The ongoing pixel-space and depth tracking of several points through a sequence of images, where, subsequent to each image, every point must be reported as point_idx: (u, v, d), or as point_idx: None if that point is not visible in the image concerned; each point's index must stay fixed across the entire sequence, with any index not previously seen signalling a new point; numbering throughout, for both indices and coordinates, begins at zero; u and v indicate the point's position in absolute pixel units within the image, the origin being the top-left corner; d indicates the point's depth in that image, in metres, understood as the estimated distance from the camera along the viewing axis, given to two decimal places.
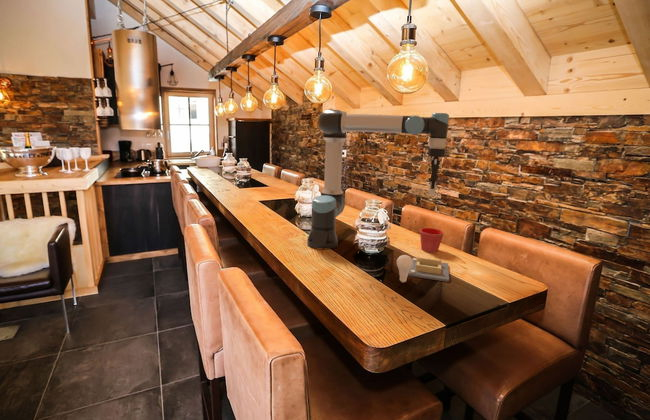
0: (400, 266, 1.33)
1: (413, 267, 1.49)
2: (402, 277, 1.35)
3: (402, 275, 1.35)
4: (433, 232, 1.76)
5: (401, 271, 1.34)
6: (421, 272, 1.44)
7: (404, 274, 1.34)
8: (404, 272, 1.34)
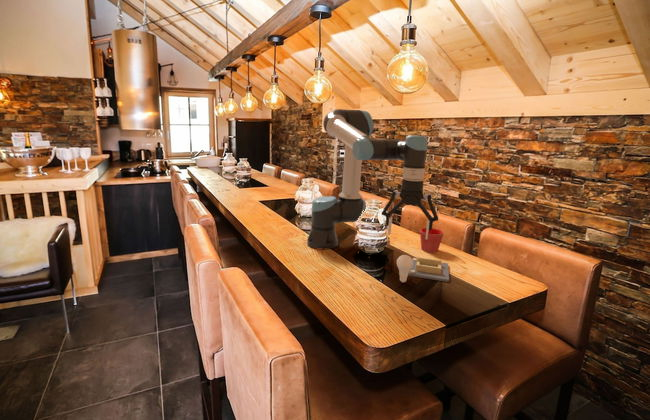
0: (400, 266, 1.33)
1: (413, 267, 1.49)
2: (402, 277, 1.35)
3: (402, 275, 1.35)
4: (433, 232, 1.76)
5: (401, 271, 1.34)
6: (421, 272, 1.44)
7: (404, 274, 1.34)
8: (404, 272, 1.34)
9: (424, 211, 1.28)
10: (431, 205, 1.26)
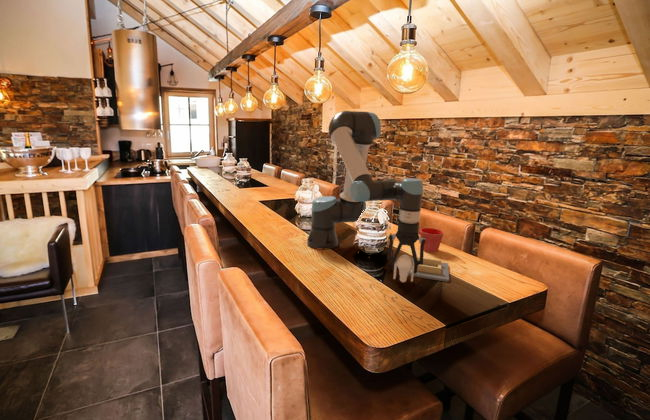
0: (400, 266, 1.33)
1: None
2: (402, 277, 1.35)
3: (402, 275, 1.35)
4: (433, 232, 1.76)
5: (401, 271, 1.34)
6: (421, 272, 1.44)
7: (404, 274, 1.34)
8: (404, 272, 1.34)
9: (413, 254, 1.32)
10: (422, 249, 1.31)
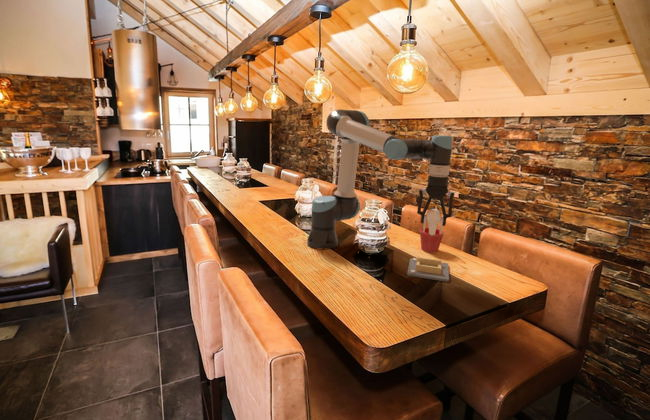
0: (430, 219, 1.41)
1: (413, 267, 1.49)
2: (431, 229, 1.43)
3: (431, 228, 1.43)
4: None
5: (430, 224, 1.43)
6: (421, 272, 1.44)
7: (433, 227, 1.43)
8: (433, 224, 1.42)
9: (442, 207, 1.40)
10: (451, 202, 1.39)
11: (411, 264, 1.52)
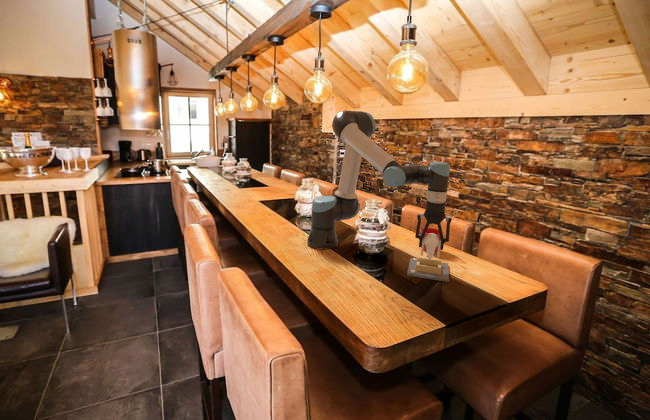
0: (428, 243, 1.44)
1: (413, 267, 1.49)
2: (429, 253, 1.46)
3: (429, 252, 1.46)
4: (433, 232, 1.76)
5: (428, 248, 1.45)
6: (421, 272, 1.44)
7: (431, 251, 1.45)
8: (431, 249, 1.45)
9: (440, 232, 1.43)
10: (448, 227, 1.42)
11: (411, 264, 1.52)
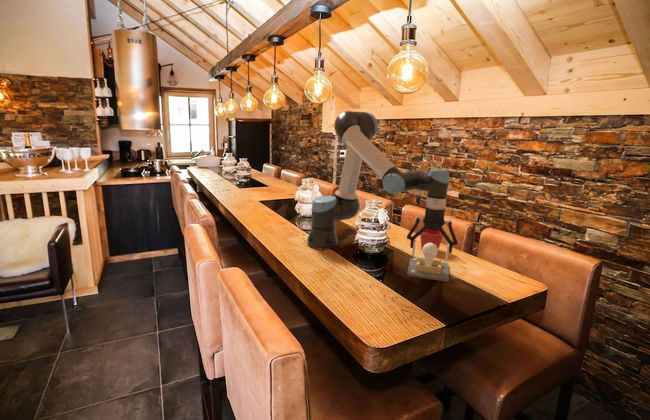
0: (426, 253, 1.45)
1: (413, 267, 1.49)
2: (427, 263, 1.47)
3: (428, 261, 1.47)
4: (433, 232, 1.76)
5: (427, 258, 1.46)
6: (421, 272, 1.44)
7: (430, 260, 1.46)
8: (429, 258, 1.46)
9: (445, 236, 1.43)
10: (451, 231, 1.42)
11: (411, 264, 1.52)
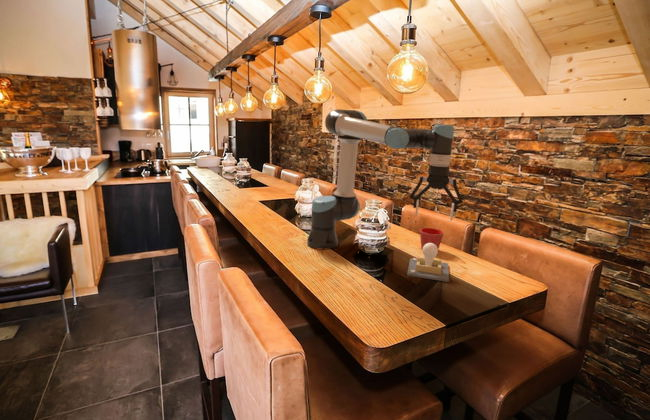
0: (426, 253, 1.45)
1: (413, 267, 1.49)
2: (427, 263, 1.47)
3: (428, 261, 1.47)
4: (433, 232, 1.76)
5: (427, 258, 1.46)
6: (421, 272, 1.44)
7: (429, 260, 1.46)
8: (429, 258, 1.46)
9: (449, 194, 1.39)
10: (456, 189, 1.38)
11: (411, 264, 1.52)
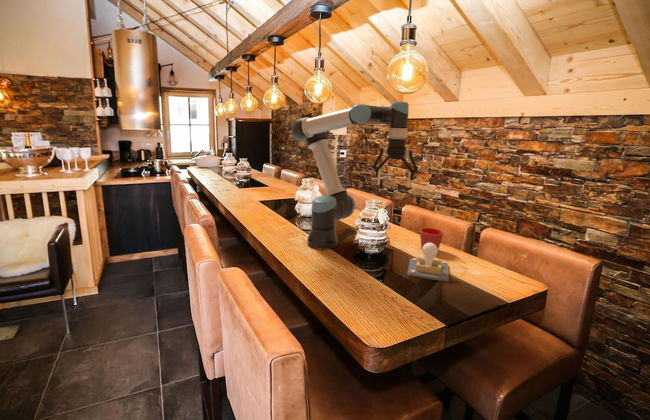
0: (426, 253, 1.45)
1: (413, 267, 1.49)
2: (427, 263, 1.47)
3: (428, 261, 1.47)
4: (433, 232, 1.76)
5: (427, 258, 1.46)
6: (421, 272, 1.44)
7: (429, 260, 1.46)
8: (429, 258, 1.46)
9: (406, 164, 1.57)
10: (412, 159, 1.56)
11: (411, 264, 1.52)
